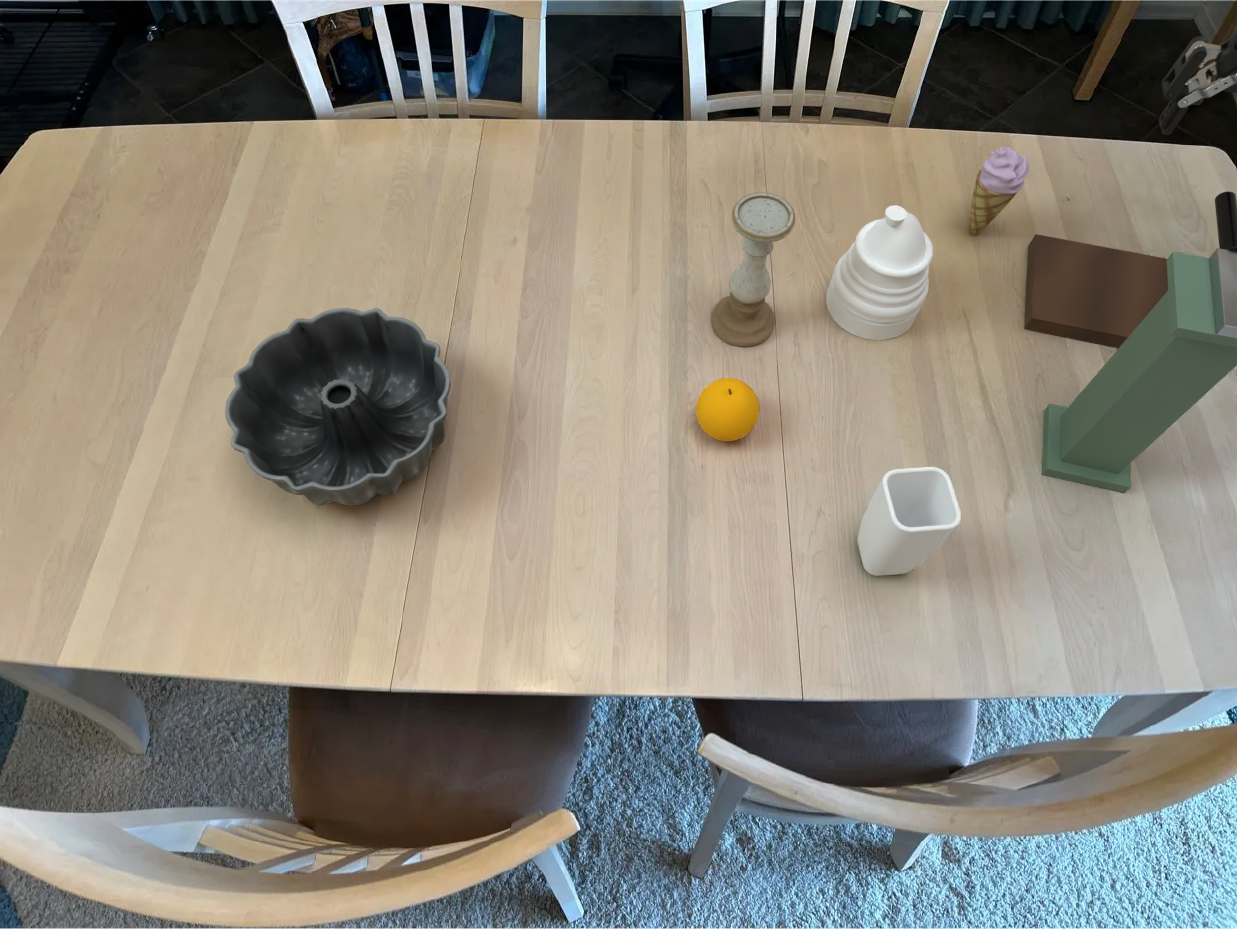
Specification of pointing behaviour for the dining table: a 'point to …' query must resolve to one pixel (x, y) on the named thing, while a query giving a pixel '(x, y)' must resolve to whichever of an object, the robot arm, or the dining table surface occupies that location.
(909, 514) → the cup
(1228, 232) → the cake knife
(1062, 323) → the cutting board
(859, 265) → the honey pot
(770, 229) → the candle holder
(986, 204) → the ice cream cone
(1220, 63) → the robot arm
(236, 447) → the bundt pan
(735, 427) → the orange
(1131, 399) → the stand
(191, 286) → the dining table surface
